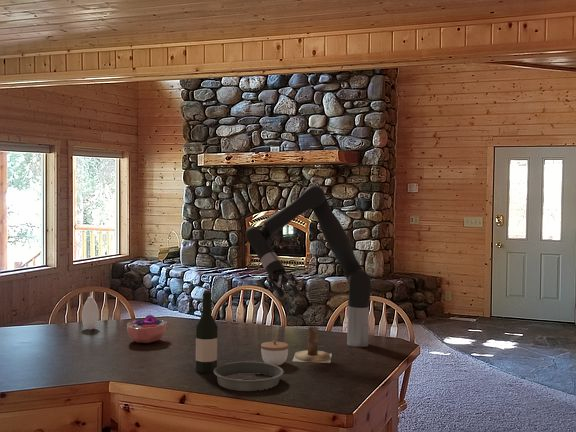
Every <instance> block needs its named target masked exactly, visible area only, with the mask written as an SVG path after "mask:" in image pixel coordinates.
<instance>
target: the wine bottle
mask: <svg viewBox="0 0 576 432" xmlns="http://www.w3.org/2000/svg"><path fill="white" fill-rule="evenodd" d="M212 301H213V299H212V291H211V289H204V290H203V292H202V315H201V317H200V318H199V320H198V322H196V323H197V324H196V325H195V373H199V372H200V373H199V374H212V372H213V373H214V369H215V368H216V367H218V324H217V323H216V321H215V319H214V317H213V314H212Z"/></svg>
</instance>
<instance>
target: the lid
mask: <svg viewBox="0 0 576 432" xmlns="http://www.w3.org/2000/svg"><path fill="white" fill-rule="evenodd" d="M307 328H308V329H307V331H308V332H307V350H299V351H295V353H294V355H295V358H296V359H298V360H302V361H308V362H307V363H318V362H321V361H326V360H329V359H330V354H331V353H328V352H326V351H322V350H318V348H319V327H317V326H309V327H307Z"/></svg>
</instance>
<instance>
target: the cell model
mask: <svg viewBox="0 0 576 432" xmlns="http://www.w3.org/2000/svg"><path fill="white" fill-rule="evenodd" d="M167 323H168V322H167V321H166V320H163V319H157V317H156V316H154V315H152V314H148V315H146V316H145V318H144V319H136V320H131V321H129V322H127V323H126V329H127V335H128V337H129V338H130V339H131V340H133V341H134V342H136V343H141V344H150V343H153V342H154V343H155V342H157V341H159V340H161V339H162V338H163V337H164V336H165V333H166V329H167Z"/></svg>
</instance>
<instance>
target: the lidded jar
mask: <svg viewBox="0 0 576 432" xmlns="http://www.w3.org/2000/svg"><path fill="white" fill-rule="evenodd" d="M260 347H261V348H260V354H261V358H262V360H263V363H269V364H273V365H276V366H281V365H283V364H284V363H285V362H286V360H287V358H288V354H289V344H288V343H286V342H284V341H283V342H282V341H277V340H275V339H273V340H272V341H266V342H262V343H261V344H260Z"/></svg>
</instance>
